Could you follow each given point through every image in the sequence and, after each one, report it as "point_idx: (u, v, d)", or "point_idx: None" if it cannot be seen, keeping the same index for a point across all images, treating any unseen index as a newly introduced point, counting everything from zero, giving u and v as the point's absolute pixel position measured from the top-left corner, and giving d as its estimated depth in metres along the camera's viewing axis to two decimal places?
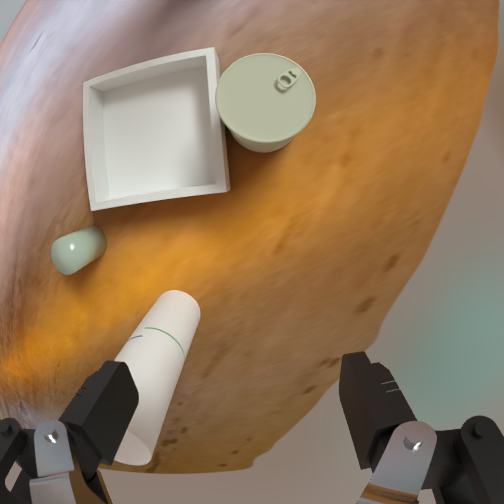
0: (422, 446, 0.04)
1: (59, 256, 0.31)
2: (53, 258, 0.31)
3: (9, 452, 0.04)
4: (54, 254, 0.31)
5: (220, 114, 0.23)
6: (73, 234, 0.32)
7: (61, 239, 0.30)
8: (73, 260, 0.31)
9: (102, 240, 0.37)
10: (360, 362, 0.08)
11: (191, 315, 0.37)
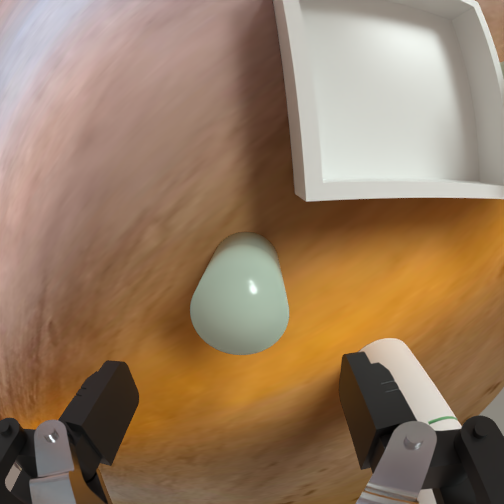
0: (422, 446, 0.04)
1: (223, 315, 0.14)
2: (198, 318, 0.14)
3: (9, 452, 0.04)
4: (204, 309, 0.14)
5: None
6: (250, 255, 0.16)
7: (239, 271, 0.13)
8: (271, 323, 0.14)
9: None
10: (360, 362, 0.08)
11: None
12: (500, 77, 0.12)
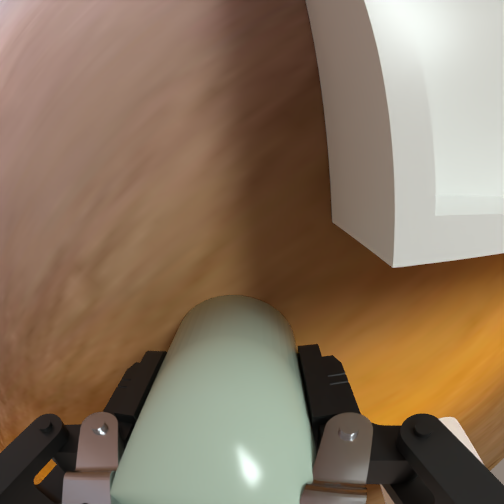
0: (355, 437, 0.05)
1: None
2: None
3: (44, 451, 0.04)
4: None
5: None
6: (238, 408, 0.05)
7: (202, 501, 0.03)
8: None
9: None
10: (311, 354, 0.09)
11: None
12: None
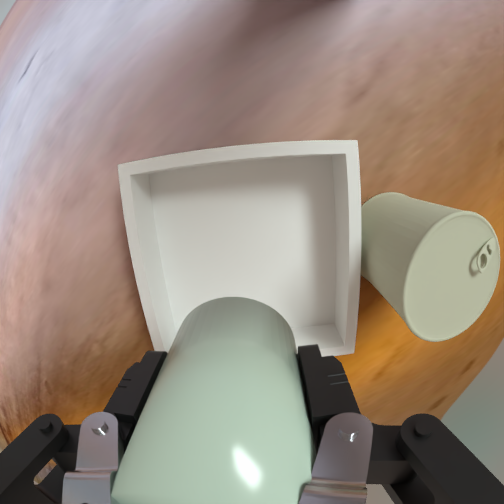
0: (355, 437, 0.05)
1: None
2: None
3: (44, 451, 0.04)
4: None
5: (405, 311, 0.15)
6: (238, 410, 0.05)
7: (203, 503, 0.03)
8: None
9: None
10: (311, 354, 0.09)
11: None
12: (355, 246, 0.21)
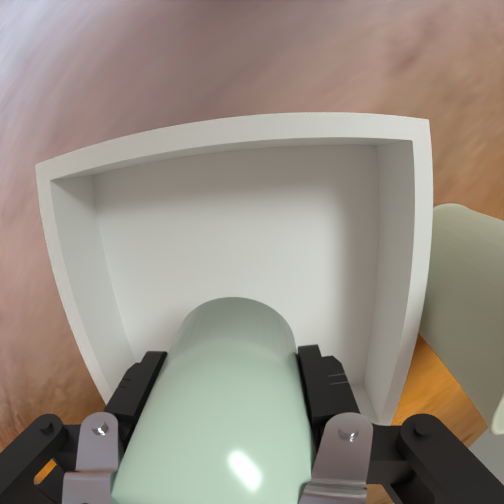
0: (355, 437, 0.05)
1: None
2: None
3: (44, 451, 0.04)
4: None
5: (495, 415, 0.06)
6: (238, 410, 0.05)
7: (203, 503, 0.03)
8: None
9: None
10: (311, 354, 0.09)
11: None
12: (417, 295, 0.12)
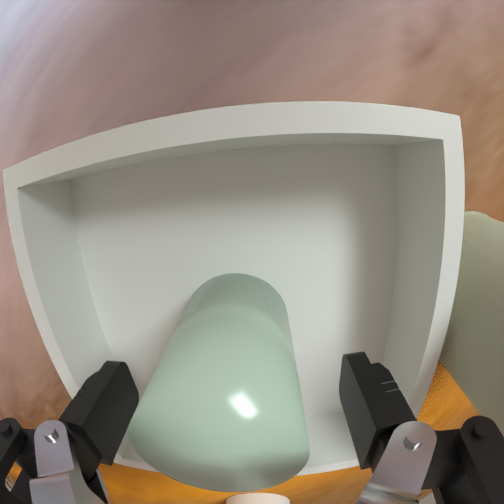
0: (422, 446, 0.04)
1: (187, 455, 0.06)
2: (146, 452, 0.06)
3: (9, 452, 0.04)
4: (152, 443, 0.06)
5: None
6: (237, 344, 0.08)
7: (208, 405, 0.05)
8: (276, 466, 0.06)
9: (288, 323, 0.13)
10: (360, 362, 0.08)
11: None
12: (441, 321, 0.09)
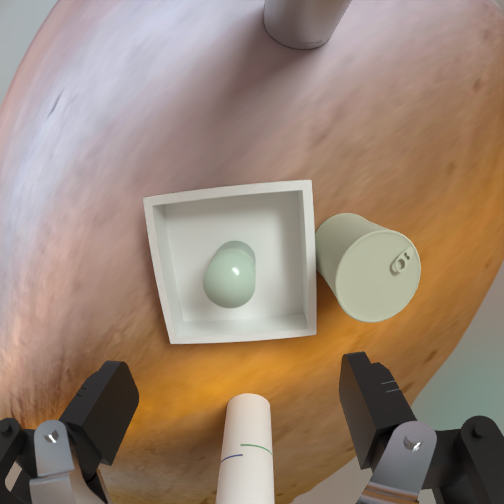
0: (422, 446, 0.04)
1: (220, 284, 0.27)
2: (207, 287, 0.27)
3: (9, 452, 0.04)
4: (210, 281, 0.27)
5: (338, 299, 0.25)
6: (235, 253, 0.29)
7: (228, 261, 0.26)
8: (246, 289, 0.27)
9: (255, 259, 0.34)
10: (360, 362, 0.08)
11: (268, 417, 0.38)
12: (311, 254, 0.30)
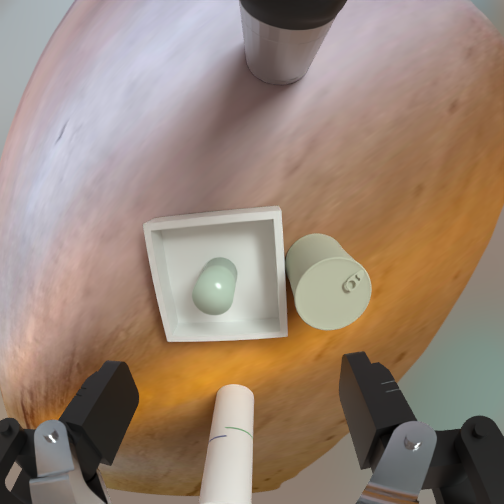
0: (422, 446, 0.04)
1: (205, 297, 0.34)
2: (195, 298, 0.34)
3: (9, 452, 0.04)
4: (197, 294, 0.34)
5: (298, 311, 0.31)
6: (217, 271, 0.35)
7: (211, 279, 0.33)
8: (226, 300, 0.34)
9: (236, 273, 0.40)
10: (360, 362, 0.08)
11: (251, 405, 0.45)
12: (281, 271, 0.37)
